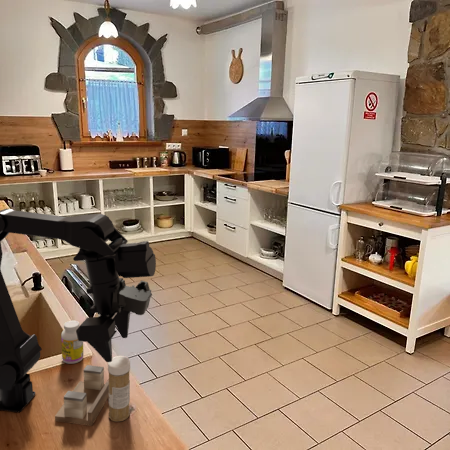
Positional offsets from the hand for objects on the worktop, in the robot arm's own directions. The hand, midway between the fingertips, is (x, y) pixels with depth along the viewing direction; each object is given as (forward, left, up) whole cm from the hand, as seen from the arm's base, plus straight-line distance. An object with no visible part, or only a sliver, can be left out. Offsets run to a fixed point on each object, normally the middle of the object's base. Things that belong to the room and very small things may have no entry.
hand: (117, 349), depth 87 cm
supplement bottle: (-19, +18, -16) cm, 31 cm away
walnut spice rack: (-8, +2, -16) cm, 18 cm away
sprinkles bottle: (0, 0, -16) cm, 16 cm away
